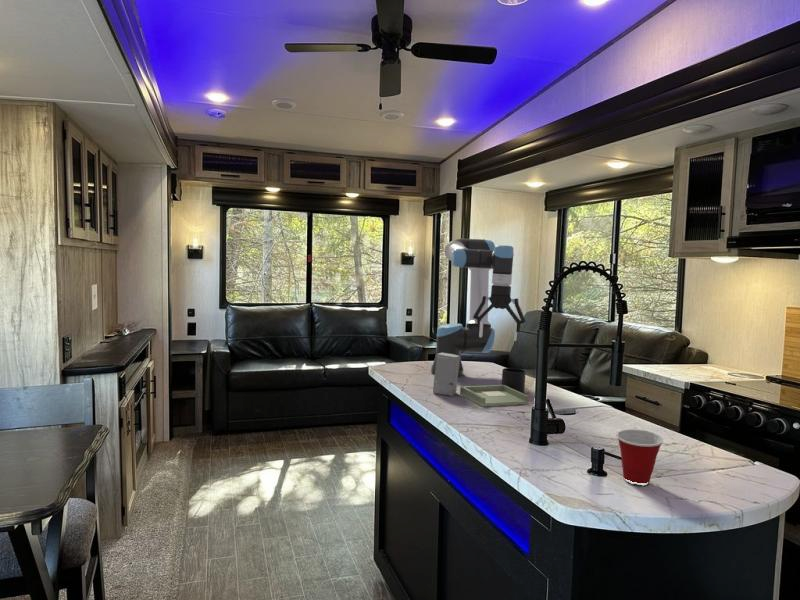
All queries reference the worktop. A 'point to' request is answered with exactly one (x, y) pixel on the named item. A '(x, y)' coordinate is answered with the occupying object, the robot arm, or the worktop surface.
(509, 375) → the mug
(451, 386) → the skincare box
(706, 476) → the worktop surface
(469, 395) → the sage green tray
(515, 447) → the worktop surface
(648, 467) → the plastic cup
